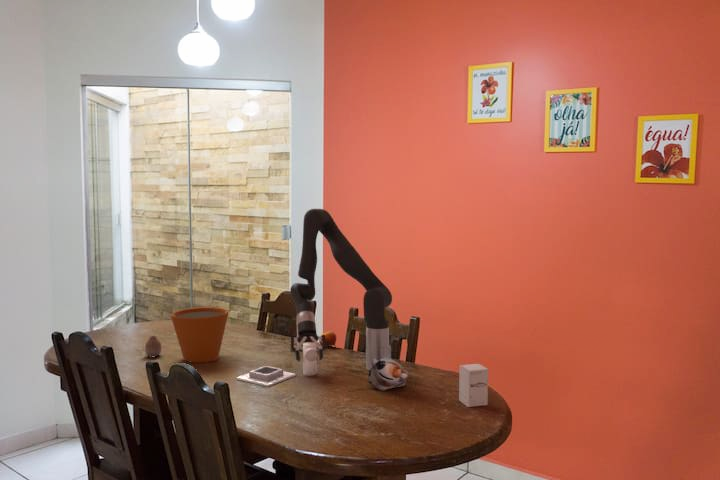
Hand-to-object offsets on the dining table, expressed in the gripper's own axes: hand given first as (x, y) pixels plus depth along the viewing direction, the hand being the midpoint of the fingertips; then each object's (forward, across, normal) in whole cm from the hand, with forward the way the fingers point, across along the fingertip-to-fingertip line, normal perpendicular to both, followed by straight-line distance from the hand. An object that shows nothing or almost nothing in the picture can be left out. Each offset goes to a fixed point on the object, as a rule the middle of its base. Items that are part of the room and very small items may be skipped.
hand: (309, 359), depth 238 cm
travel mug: (-23, +2, +32) cm, 39 cm away
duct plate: (+4, -17, +4) cm, 18 cm away
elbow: (+5, 0, +4) cm, 6 cm away
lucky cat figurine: (+19, +27, -11) cm, 35 cm away
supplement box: (+35, +50, -26) cm, 67 cm away
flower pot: (-19, -43, +28) cm, 55 cm away
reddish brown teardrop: (-24, -64, +33) cm, 76 cm away
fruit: (-25, +14, +34) cm, 44 cm away
